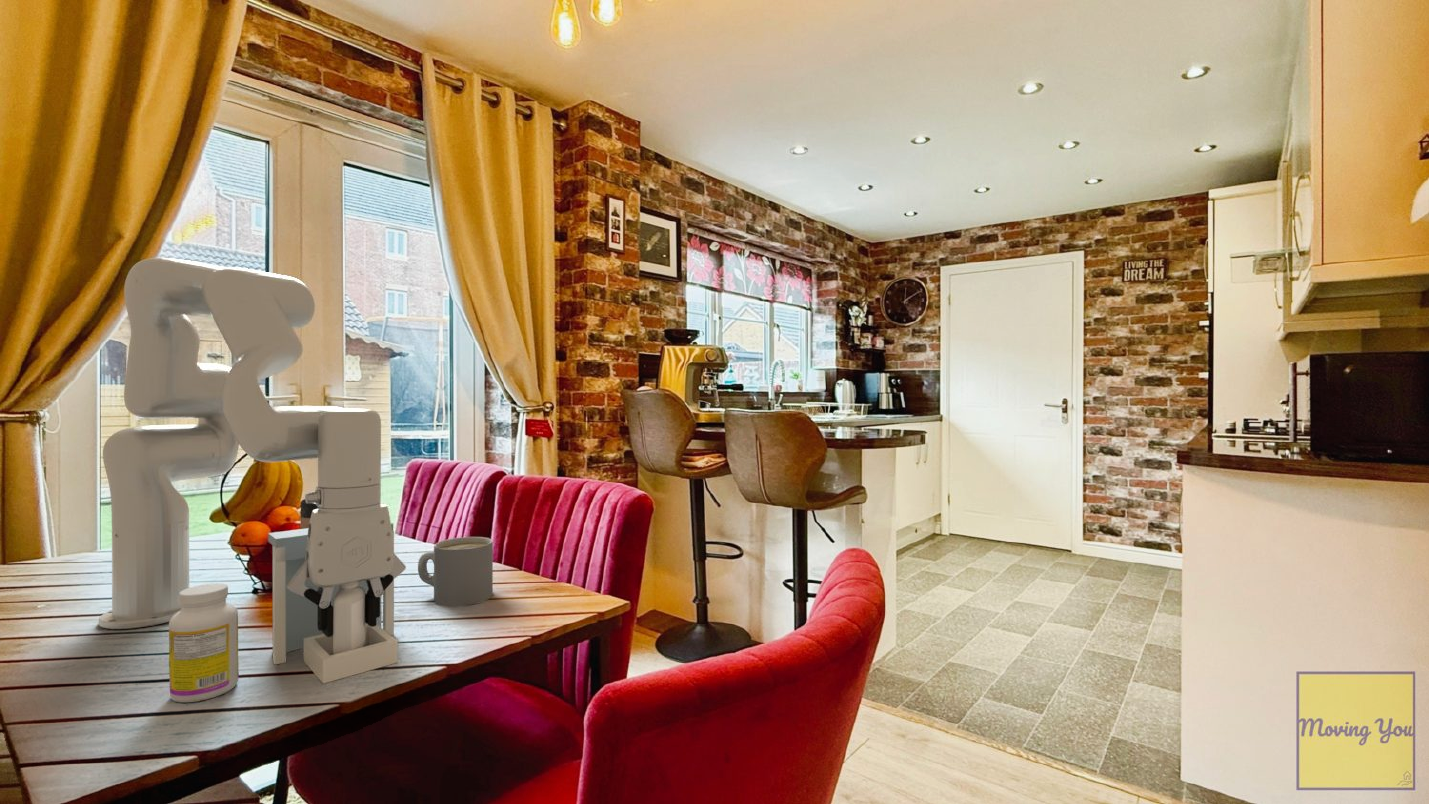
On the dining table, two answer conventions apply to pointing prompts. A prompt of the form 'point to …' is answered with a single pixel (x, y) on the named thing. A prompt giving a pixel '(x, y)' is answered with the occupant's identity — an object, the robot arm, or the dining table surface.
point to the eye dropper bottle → (349, 618)
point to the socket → (350, 655)
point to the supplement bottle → (203, 644)
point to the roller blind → (296, 611)
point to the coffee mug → (460, 571)
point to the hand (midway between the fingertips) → (349, 627)
